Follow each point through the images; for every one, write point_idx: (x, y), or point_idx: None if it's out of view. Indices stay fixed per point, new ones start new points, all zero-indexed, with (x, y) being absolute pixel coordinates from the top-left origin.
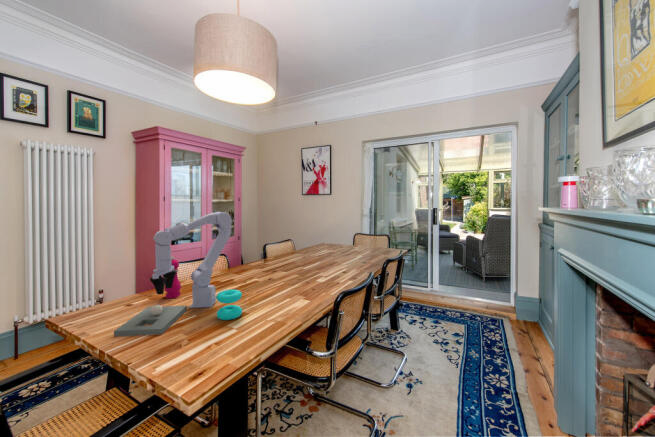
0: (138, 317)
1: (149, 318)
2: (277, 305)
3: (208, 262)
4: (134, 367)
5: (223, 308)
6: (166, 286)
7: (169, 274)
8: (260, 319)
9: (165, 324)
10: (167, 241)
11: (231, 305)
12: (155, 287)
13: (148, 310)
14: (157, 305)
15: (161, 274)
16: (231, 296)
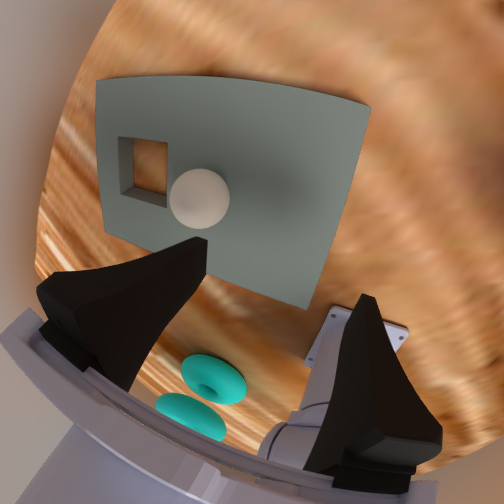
0: (196, 105)
1: (175, 165)
2: (259, 433)
3: None
4: (41, 202)
5: (200, 382)
6: (359, 309)
7: (327, 446)
8: (192, 394)
9: (127, 238)
10: None
11: (221, 399)
12: (143, 262)
13: (296, 123)
14: (180, 215)
15: (118, 407)
16: None
